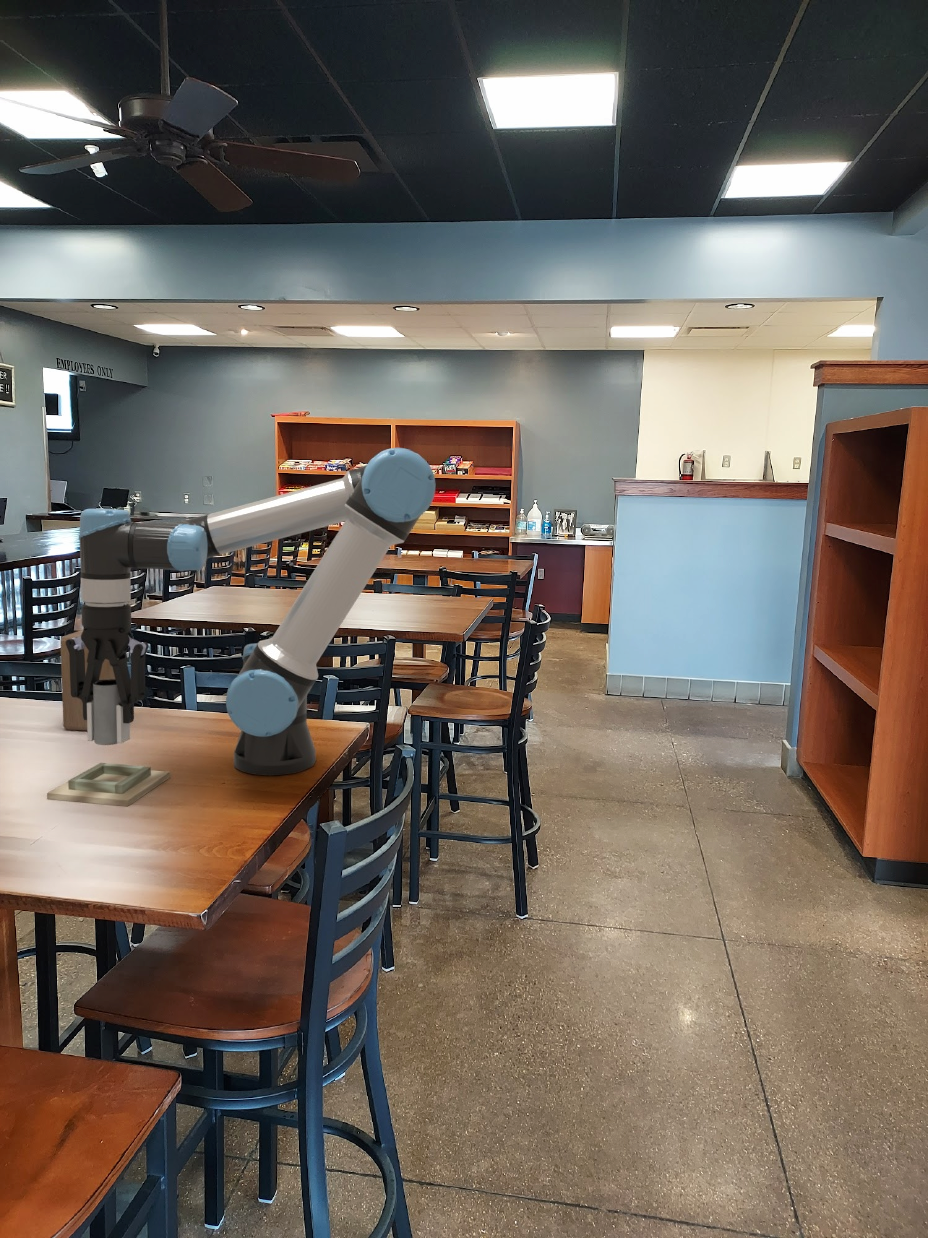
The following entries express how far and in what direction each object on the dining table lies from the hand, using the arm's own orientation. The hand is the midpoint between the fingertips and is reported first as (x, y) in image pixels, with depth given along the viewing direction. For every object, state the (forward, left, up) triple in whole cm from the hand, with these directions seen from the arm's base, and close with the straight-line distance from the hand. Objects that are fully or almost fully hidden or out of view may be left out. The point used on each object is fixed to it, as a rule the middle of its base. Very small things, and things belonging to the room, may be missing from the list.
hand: (109, 739), depth 137 cm
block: (+23, -33, -9) cm, 41 cm away
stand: (0, 0, -8) cm, 8 cm away
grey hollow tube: (0, 0, 0) cm, 0 cm away
